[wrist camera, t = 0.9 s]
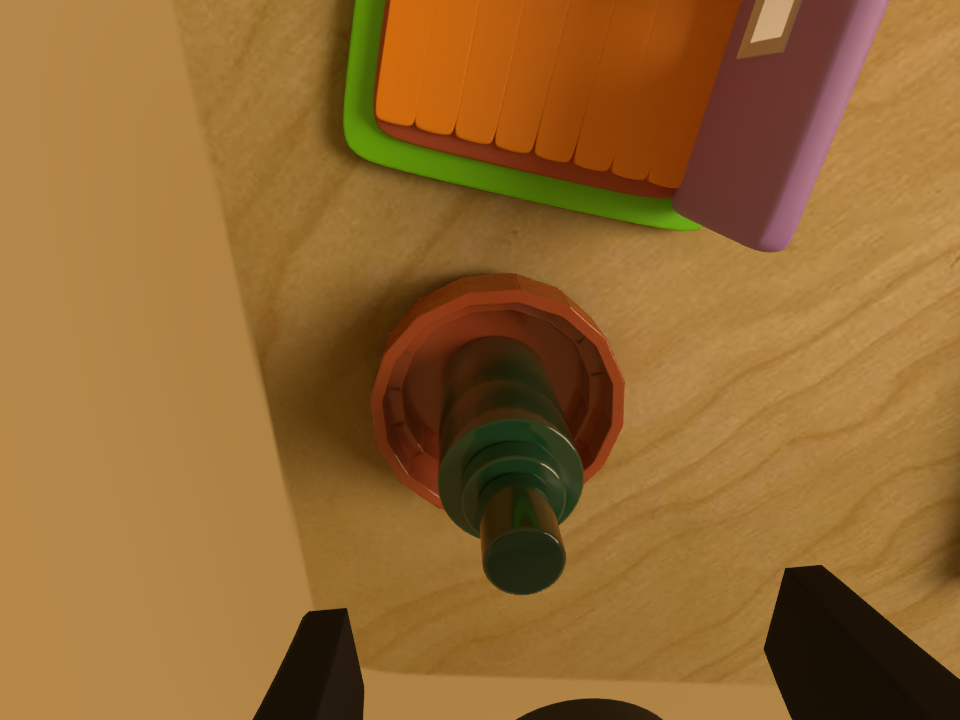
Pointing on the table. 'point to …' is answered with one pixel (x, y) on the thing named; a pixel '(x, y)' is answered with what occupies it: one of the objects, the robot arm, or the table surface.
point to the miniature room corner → (613, 102)
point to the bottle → (507, 461)
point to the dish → (483, 313)
